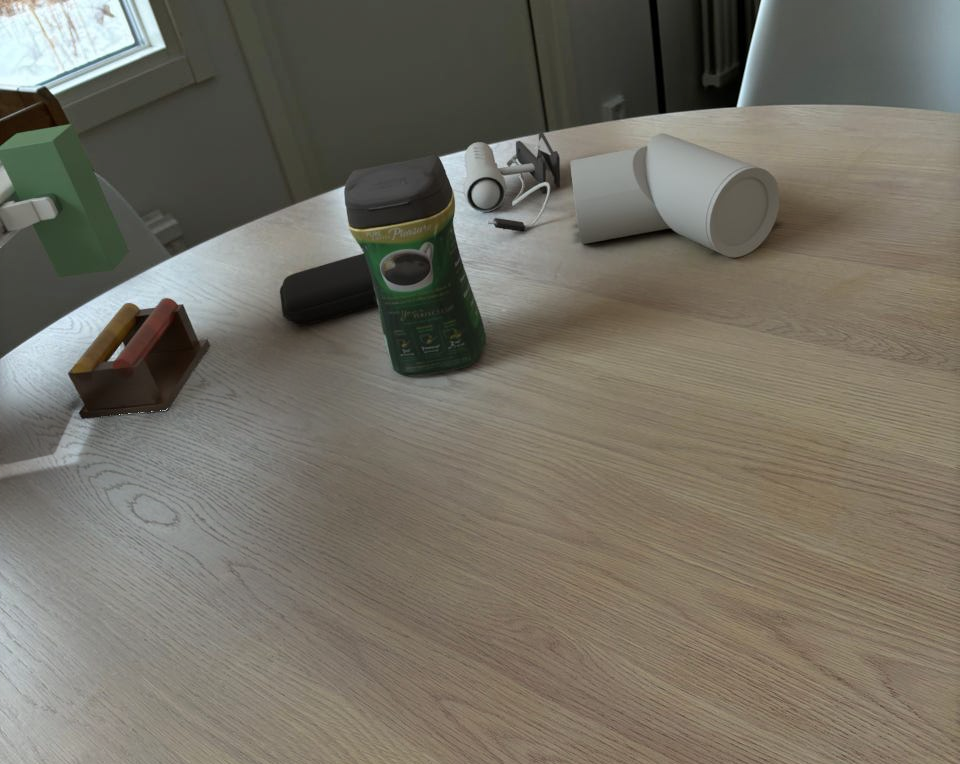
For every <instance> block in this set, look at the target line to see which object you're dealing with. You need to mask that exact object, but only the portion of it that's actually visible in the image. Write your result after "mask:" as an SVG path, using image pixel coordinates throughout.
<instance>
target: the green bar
mask: <svg viewBox="0 0 960 764" xmlns="http://www.w3.org/2000/svg"><path fill="white" fill-rule="evenodd" d="M0 160H1V162H2V164H3V166H4V168H5V170H6V172H7V174H8V176H9V178H10V180H11V182H12V184H13V186H14V188H15V190H16V192H17V194H18V196H19V198H20V200H21V201H24V200H29V199H33V198H35V197H36V196H38V195H41V194H48V193H53V194H55V195H56V196H57V198H58V200H59V203H60V204H61V206H62V211H61V212H60V213H59V214H58V215H57V216H56V217H55V218H54V219H47V220H41V221H39V222H37V223H35V224H32V226H33V228H34V230H35V232H36V234H37V236H38V239H39V240H40V242H41V244H42V246H43V248H44V250H45V253H46V254H47V256H48V258H49V261H50V262H51V264H52V266H53V268H54V270H55V273H56V275H57V276H58V277H59V278H63V277H71V276H78V275H86V274H94V273H101V272H102V273H103V272H109V271H114V270H115V268H116V267H117V266H118V265H119V264H120V263H121V262H122V261H123V260H124V258H125V257H126V256H127V255H128V254H129V252H130V249H129V246H128V245H127V242H126V240H125V238H124V236H123V234H122V232H121V229H120V226H119V225H118V223H117V221H116V220H117V219H116V217H115V216H114V213H113V211H112V209H111V207H110V205H109V202H108V200H107V198H106V195H105V193H104V191H103V188H102V186H101V184H100V182H99V180H98V178H97V175H96V173H95V171H94V169H93V166H92V164H91V161H90V159H89V157H88V155H87V153H86V150H85V148H84V145H83V143H82V142H81V139H80V137H79V135H78V132H77V130H76V127H75V126H74V124H73V123H67V124H64V125H63V124H62V125H57V126H52V127H45V128H40V129H34V130H28V131H23V132H16V133H15V134H13V136H11V137H10V138H9V139H7V140H6V141H5V142H4V143H2V144H1V145H0Z"/></svg>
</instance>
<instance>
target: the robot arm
mask: <svg viewBox="0 0 960 764" xmlns="http://www.w3.org/2000/svg"><path fill="white" fill-rule="evenodd" d="M61 211H62V206H61V204H60V203H59V200H58V198H57V196H56V195H55V194H53V193H48V194H41V195H38V196H36V197H35V198H33V199H29V200H24V201H21V200H20V198H19V196H18V194H17V192H16V190H15V188H14V186H13V184H12V182H11V180H10V178H9V176H8V174H7V172H6V170H5V168H4V166H3V164H2V162H1V160H0V249H1V248H2V247H3V246H5V245H6V244H7V243H8V242H9V241H10V240H12V238H13V237H14V236H15V235H16V234H18V233H19V231H21V230H23V229H25V228H27V227H30V226H33V224H35V223H37V222H39V221H41V220H47V219H54V218H55V217H56V216H57V215H58V214H59V213H60V212H61Z"/></svg>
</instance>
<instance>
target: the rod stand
mask: <svg viewBox="0 0 960 764" xmlns="http://www.w3.org/2000/svg"><path fill="white" fill-rule="evenodd" d="M122 344H123V345H124V348H123V349H122V351H120V353H119V354H118V355H117V356H116V358H115V360H110V359H111V358H112V356H113V355H114V354H115V353H116V351H117V350H118V349H119V348H120V346H122ZM210 347H211V344H210V342H209V339H208V338H207V339H205V338H204V339H199V338H198V336H197V333H196V331H195V329H194V327H193V325H192V322H191V320H190V317H189V315H188V312H187V310H186V308H185V305H184V304H183V303H181V304H180V303H179V304H178V303H177V302H176V300H175V299H172V298H169V297H163V298H162V299H161V300H160V301H159V302H158V304H157V305H156V306H155V307H147V308H139V306H137V305H136V304H135V303H132V302H126V303H124V304H123V305H122V306H121V307H120V309H119V310H118V311H117V312H116V314H115V315H114V316H113V317H112V318H111V320H110V321H109V322H108V323H107V324H106V326H105V327H104V328H103V329H102V330H101V332H100V333H99V334H98V335H97V336H96V338H95V339H94V341H93V342H92V343H91V344H90V345H89V346H88V348H87V349H86V350H85V351H84V353H82V355H81V356H80V357H79V359H78V360H77V361H76V362H75V364H73V366H72V368H71V369H70V370H69V371H68V372H67V375H68V377H69V379H70V380H71V382H72V385H73V386H74V388H75V390H76V392H77V394H78V396H79V397H80V400H81V401H82V403H83V406H82V407H81V409H80V410H79V411H78V415H79V417H80V418H81V420H83V419H84V420H86V419H85V418H87V419H96V418H95V417H98V418H104V417H103V416H108V417H113V416H112V415H119V414H120V415H119V416H122V415H121V414H128V413H138V412H139V413H140V412H150V413H152V412H151V411H160V410H161V412H163V411H162V410H166V409H167V408H168V407H169V406H170V407H171V405H172V404H173V402H174V401H175V400H176V398H177V396H178V395H179V394H180V392H181V390H182V389H183V388H184V386H185V384H186V383H187V381H188V380H189V379H190V377H191V375H192V374H193V372H194V371H195V370H196V368H197V366H198V365H199V364H200V362H201V361H202V359H203V358H204V356H205V354H206V353H207V352H208V350H209V348H210ZM109 360H110V361H109ZM171 403H172V404H171ZM170 404H171V405H170ZM170 407H169V408H170ZM169 408H168V409H169ZM140 414H141V413H140ZM110 415H111V416H110ZM101 416H102V417H101Z"/></svg>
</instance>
